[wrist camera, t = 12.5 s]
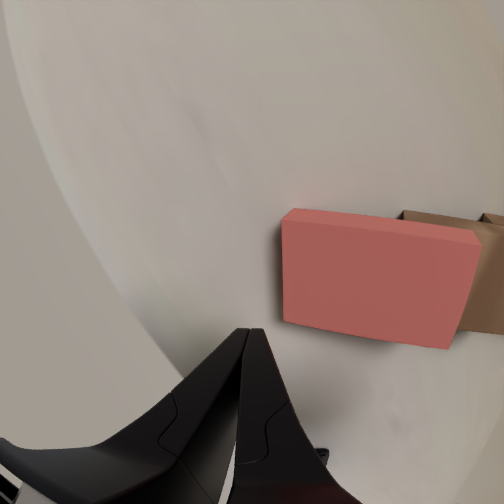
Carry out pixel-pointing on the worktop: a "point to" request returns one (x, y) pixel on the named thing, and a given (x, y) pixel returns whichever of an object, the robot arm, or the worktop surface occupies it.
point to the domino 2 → (478, 273)
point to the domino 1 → (376, 276)
